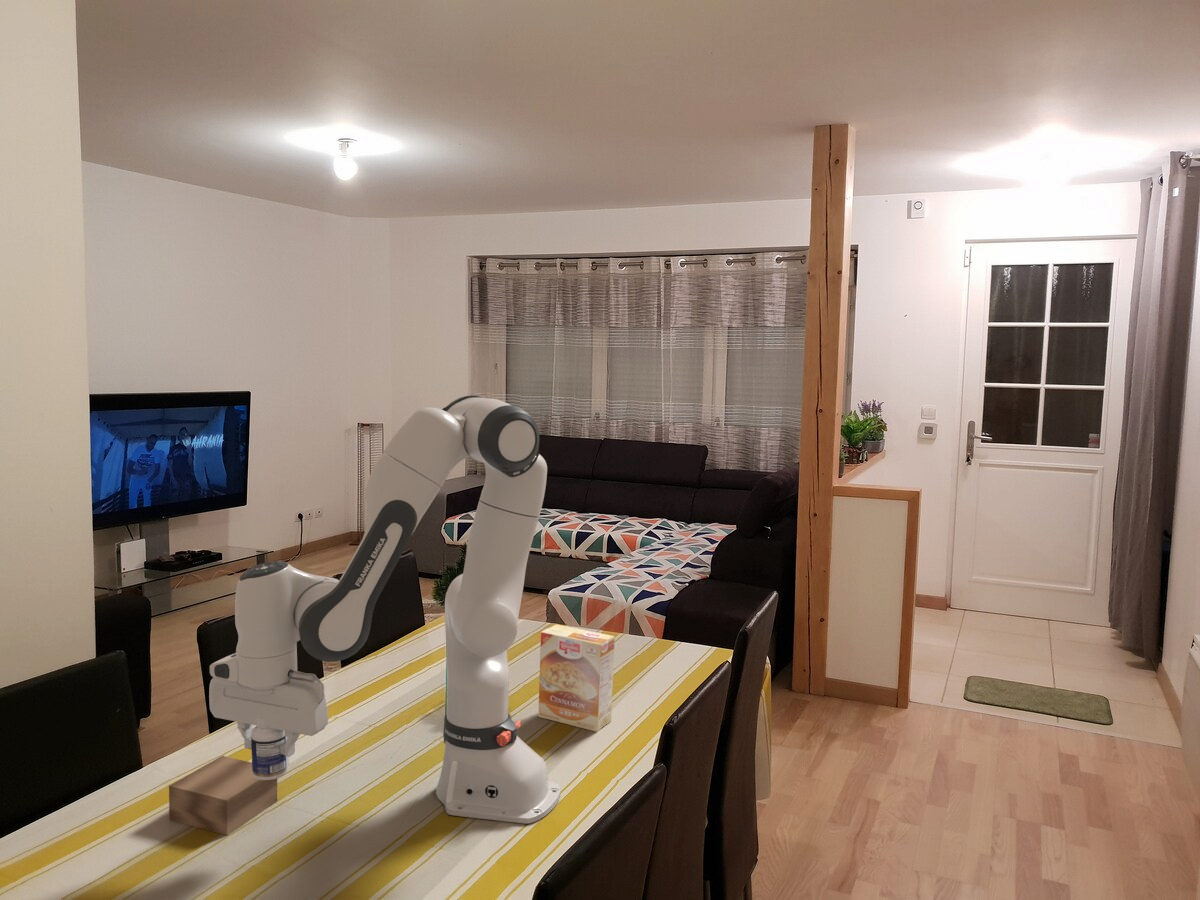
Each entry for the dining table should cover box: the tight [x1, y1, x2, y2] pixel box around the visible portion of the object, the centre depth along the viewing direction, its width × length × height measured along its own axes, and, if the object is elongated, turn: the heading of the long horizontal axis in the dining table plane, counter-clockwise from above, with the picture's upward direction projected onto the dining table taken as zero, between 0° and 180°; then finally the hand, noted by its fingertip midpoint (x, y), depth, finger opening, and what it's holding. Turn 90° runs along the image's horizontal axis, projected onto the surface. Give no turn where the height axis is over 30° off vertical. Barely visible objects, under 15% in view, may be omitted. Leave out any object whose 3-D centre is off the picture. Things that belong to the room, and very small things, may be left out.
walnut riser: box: [168, 755, 278, 836], centre depth 150 cm, size 12×12×6 cm
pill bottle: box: [251, 718, 289, 780], centre depth 138 cm, size 5×5×10 cm
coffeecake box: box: [538, 623, 615, 733], centre depth 192 cm, size 15×7×20 cm, turn 63°
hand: (269, 751), depth 139 cm, fingers closed on pill bottle, 5 cm apart
